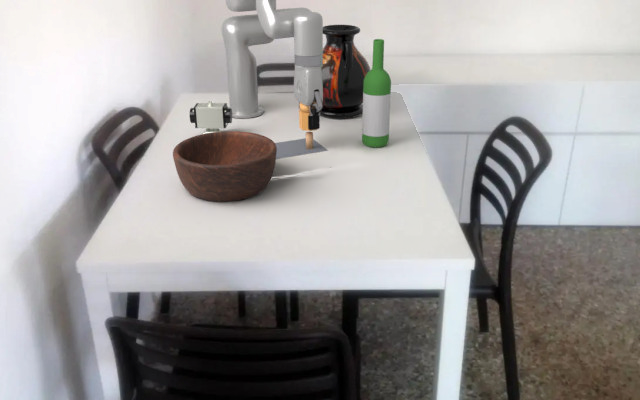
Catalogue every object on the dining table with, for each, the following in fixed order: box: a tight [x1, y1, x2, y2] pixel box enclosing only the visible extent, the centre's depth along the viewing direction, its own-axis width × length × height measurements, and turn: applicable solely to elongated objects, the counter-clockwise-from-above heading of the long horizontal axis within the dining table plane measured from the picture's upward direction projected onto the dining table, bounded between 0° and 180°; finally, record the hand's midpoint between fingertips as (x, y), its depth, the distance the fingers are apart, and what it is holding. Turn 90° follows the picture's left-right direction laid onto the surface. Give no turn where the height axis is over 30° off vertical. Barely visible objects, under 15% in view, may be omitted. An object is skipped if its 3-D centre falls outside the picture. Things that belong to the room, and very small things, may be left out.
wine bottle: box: [361, 38, 392, 148], centre depth 180 cm, size 8×8×30 cm
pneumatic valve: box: [189, 100, 233, 134], centre depth 187 cm, size 6×12×12 cm, turn 89°
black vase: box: [320, 24, 371, 120], centre depth 209 cm, size 22×22×28 cm
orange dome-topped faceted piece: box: [298, 102, 318, 132], centre depth 176 cm, size 5×5×7 cm
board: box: [274, 131, 329, 160], centre depth 179 cm, size 12×18×6 cm, turn 115°
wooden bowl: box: [172, 130, 277, 202], centre depth 157 cm, size 25×25×10 cm
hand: (309, 125), depth 177 cm, fingers closed on orange dome-topped faceted piece, 5 cm apart
